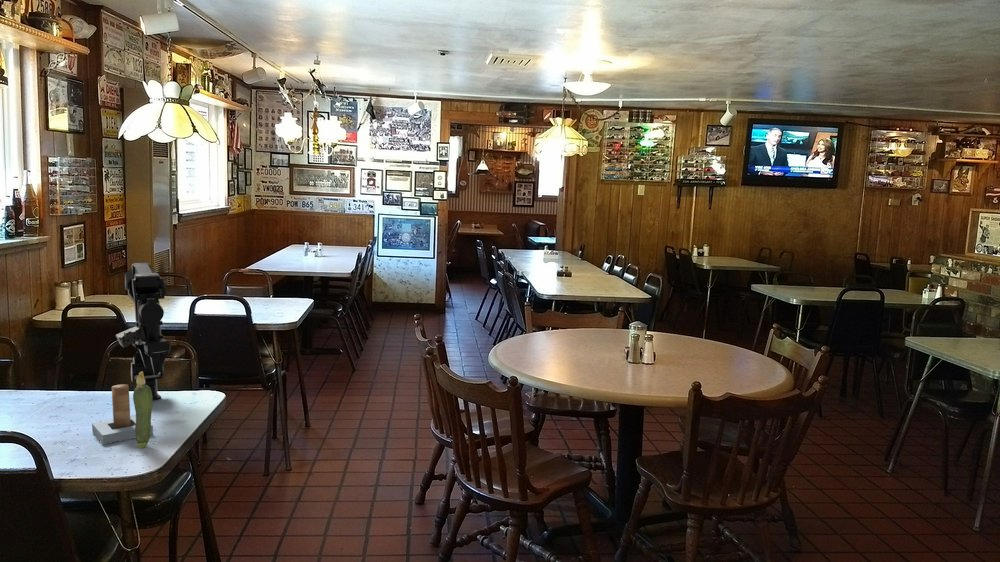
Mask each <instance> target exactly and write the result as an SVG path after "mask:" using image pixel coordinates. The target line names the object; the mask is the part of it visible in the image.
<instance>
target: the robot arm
mask: <svg viewBox="0 0 1000 562" xmlns="http://www.w3.org/2000/svg"><path fill="white" fill-rule="evenodd" d="M124 289H125V291H127V296H128V298H129V299H130V300H131V301H132V303H133V304H134V315H135V322H134V323H135V325H134V327H130V328H128V329H126V330H124V331H121V332H119V333H117V334H115V338H116V339H117V342H118V343H119V346H121V347H122V348H127V347H128V346H130V345H132V346H134V347H135V348H136V349H137V350H136V352H135V353H134V355H133V357H132V362H130V378H131V382H132V383H135V382H136V379H137V377H138V375H139V373H140V372H141V371H143V373H144V374H143V375H144V379H145V385H147V386H149V387H150V389H151V391H152V398H153V400H159V399H162V396H161V395H160V394H159V393H158V380H162V379H163V378H164V377H165V375H164V373H165V364H164V363H165V360H166V359H167V356H168V354H169V353H170V351H172V343H171V342H169V341H168V340H166V339H165V338H164V335H163V334H162V327H161V326H163V321H162V319H163V317H164V314H165V311H164V309H163V307H162V305H161V304H160V300H164V299H166V298H165V296H167V290H166V282H165V280H164V279H163V277H161V276H160V274H159V273H157V272H155V271H154V270H153V269H152V267H151V263H150V262H149V263H148V262H134V263H132V264H131V268H130V269H128V270H127V271H126V272H125V273H124ZM137 386H138V384H137V383H136V387H137Z"/></svg>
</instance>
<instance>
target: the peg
mask: <svg viewBox="0 0 1000 562" xmlns="http://www.w3.org/2000/svg"><path fill="white" fill-rule="evenodd" d="M111 401H112V416H113V417H112V418H113V419H112V420H113V421H114V429H119V428H125V427H130V426H131V422H130V416H131V409H130V408H131V407H130V406H131V404H130V389H129V384H124V383H122V384H116V385H112V386H111Z"/></svg>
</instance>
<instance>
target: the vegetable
mask: <svg viewBox="0 0 1000 562" xmlns="http://www.w3.org/2000/svg"><path fill="white" fill-rule="evenodd" d="M143 374H144V373H143V371H141V372H140V373H139V375H138V377H137V379H136V387H135V388H134V390H133V394H132V399H133V405H134V410H135V415H136V425H135V434H136V438H135V441H136V443H137V445H138V448H139V449H141V448H146V447H147V446H148V443H149V442H150V438H151V435H150V431H151V425H152V409H153V405H154V404H153V398H152V391H151V389H150V387H149V386H147V385H145V379H144V375H143ZM137 384H138V386H137Z"/></svg>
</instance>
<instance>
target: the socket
mask: <svg viewBox="0 0 1000 562" xmlns="http://www.w3.org/2000/svg"><path fill="white" fill-rule="evenodd" d="M130 422H131V426H130V427H125V428H119V429H114V421H113V419H109V420H108V419H107V420H104V421H97V422H96V421H95V422H92V423H91V429H92V433H93V434H94V436H95V437H96V438H97V439H98V440H100V441H101V442H100V441H99V442H100V443H101V444H102V445H103V444H104V445H107V443H109V444H111V443H110V442H114V443H117V442H116V441H119V442H122V441H121V440H124V441H127V440H126V439H129V440H132V439H131V438H134V439H136V434H135V425H136V414H135V415H130ZM152 434H153V435H154V425H153V424H151V431H150V436H153V435H152Z"/></svg>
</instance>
